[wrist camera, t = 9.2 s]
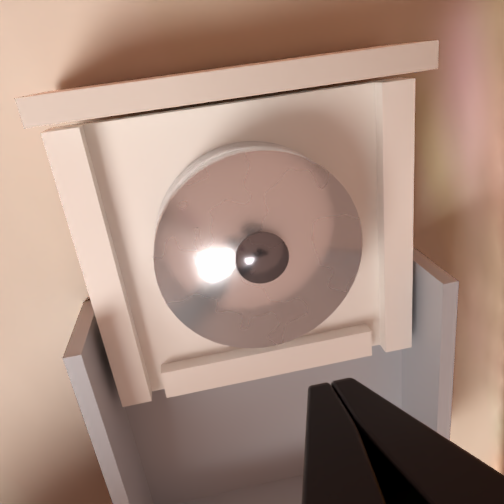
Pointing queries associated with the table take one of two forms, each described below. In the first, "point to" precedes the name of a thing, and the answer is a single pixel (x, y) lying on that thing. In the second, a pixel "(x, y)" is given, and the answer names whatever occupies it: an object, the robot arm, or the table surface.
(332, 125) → the tray
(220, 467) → the housing
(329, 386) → the robot arm
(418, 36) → the table surface
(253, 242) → the disc
